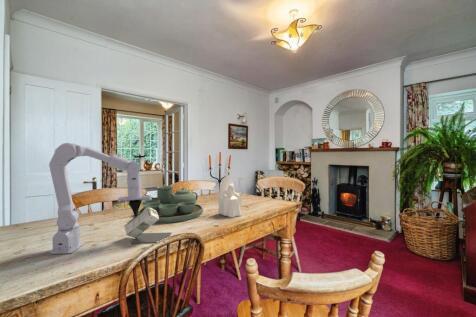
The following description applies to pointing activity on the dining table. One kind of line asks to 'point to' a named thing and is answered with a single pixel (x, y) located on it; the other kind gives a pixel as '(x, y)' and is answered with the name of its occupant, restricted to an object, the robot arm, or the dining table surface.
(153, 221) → the syrup box
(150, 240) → the mat
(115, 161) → the robot arm
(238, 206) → the religious statue
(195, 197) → the tea set
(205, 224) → the dining table surface
